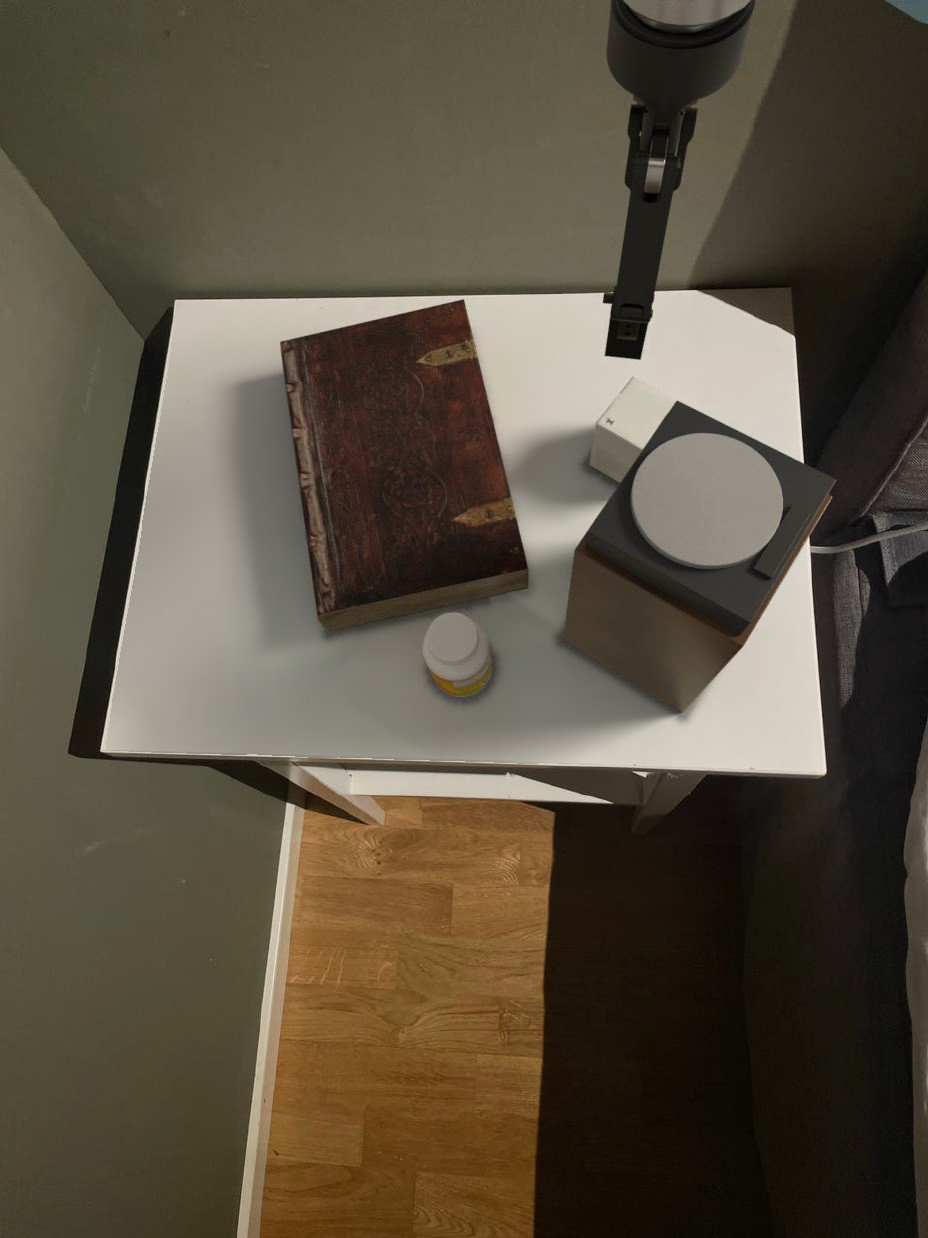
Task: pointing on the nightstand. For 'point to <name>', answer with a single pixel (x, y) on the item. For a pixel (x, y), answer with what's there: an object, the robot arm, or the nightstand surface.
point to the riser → (651, 627)
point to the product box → (628, 427)
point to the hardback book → (399, 468)
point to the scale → (709, 516)
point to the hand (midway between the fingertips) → (634, 281)
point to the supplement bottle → (457, 654)
